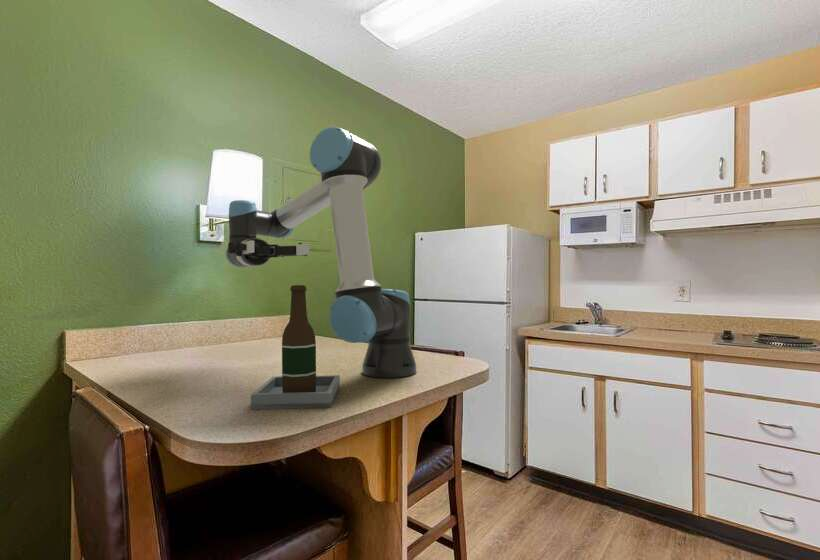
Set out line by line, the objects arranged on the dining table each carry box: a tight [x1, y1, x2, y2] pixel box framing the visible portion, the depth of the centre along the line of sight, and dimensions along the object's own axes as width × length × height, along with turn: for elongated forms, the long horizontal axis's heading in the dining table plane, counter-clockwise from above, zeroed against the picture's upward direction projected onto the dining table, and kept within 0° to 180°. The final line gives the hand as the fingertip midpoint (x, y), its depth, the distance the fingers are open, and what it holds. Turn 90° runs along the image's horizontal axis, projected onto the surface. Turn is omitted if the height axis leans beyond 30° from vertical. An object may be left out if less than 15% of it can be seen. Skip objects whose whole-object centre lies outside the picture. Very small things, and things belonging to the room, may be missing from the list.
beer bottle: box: [281, 284, 317, 393], centre depth 94 cm, size 8×8×24 cm
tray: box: [250, 374, 341, 410], centre depth 94 cm, size 16×16×3 cm
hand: (281, 247), depth 102 cm, fingers open, 13 cm apart
